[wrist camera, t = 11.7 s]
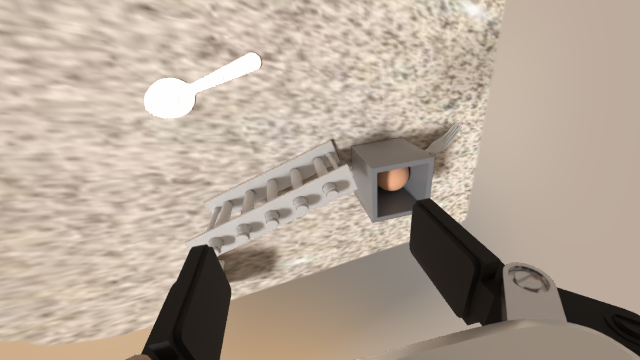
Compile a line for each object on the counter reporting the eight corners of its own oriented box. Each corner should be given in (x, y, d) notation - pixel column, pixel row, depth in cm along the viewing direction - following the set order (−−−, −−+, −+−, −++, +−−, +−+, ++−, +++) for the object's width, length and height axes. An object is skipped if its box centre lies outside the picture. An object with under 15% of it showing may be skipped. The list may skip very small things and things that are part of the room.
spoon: (269, 77, 35) (269, 77, 35) (160, 126, 35) (158, 127, 35) (251, 38, 32) (250, 37, 32) (134, 91, 33) (132, 91, 32)
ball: (365, 158, 41) (391, 169, 36) (391, 148, 43) (418, 157, 39) (366, 187, 44) (390, 201, 39) (390, 177, 46) (415, 189, 42)
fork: (363, 178, 49) (367, 185, 46) (458, 115, 43) (468, 120, 41) (370, 187, 50) (374, 194, 48) (463, 127, 45) (473, 132, 42)
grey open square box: (351, 146, 42) (371, 168, 33) (401, 137, 43) (434, 156, 34) (353, 192, 46) (372, 222, 38) (399, 183, 47) (428, 210, 39)
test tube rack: (330, 139, 41) (352, 170, 29) (339, 160, 43) (364, 197, 31) (203, 201, 42) (177, 255, 30) (218, 218, 44) (199, 275, 32)
